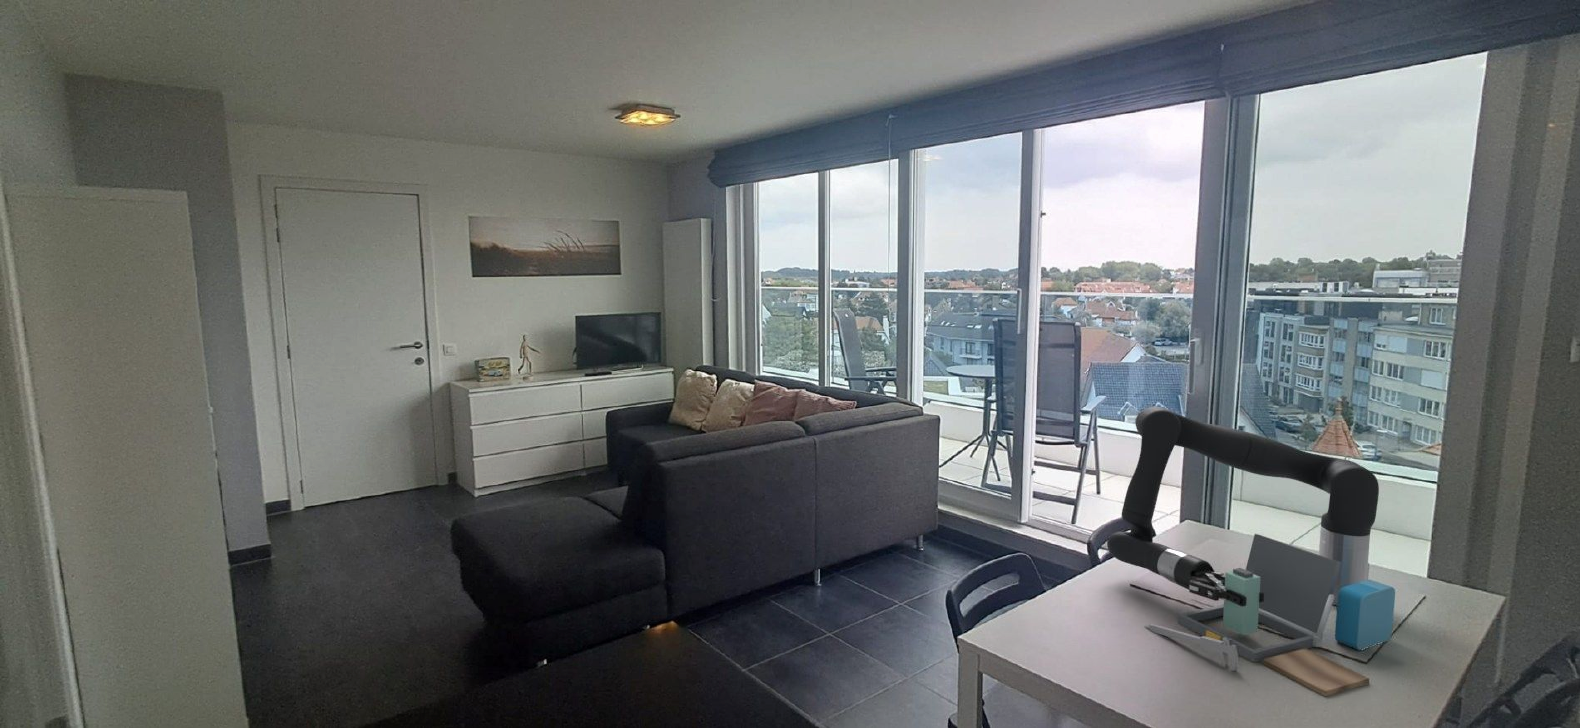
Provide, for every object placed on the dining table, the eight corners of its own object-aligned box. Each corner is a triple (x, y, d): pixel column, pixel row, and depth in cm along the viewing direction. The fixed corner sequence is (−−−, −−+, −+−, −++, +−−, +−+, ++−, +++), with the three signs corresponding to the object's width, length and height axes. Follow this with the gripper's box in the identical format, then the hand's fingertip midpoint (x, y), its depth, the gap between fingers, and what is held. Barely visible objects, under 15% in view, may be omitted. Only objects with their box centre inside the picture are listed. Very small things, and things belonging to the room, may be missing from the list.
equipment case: (1254, 605, 168) (1259, 532, 166) (1340, 643, 150) (1346, 562, 148) (1176, 623, 160) (1179, 547, 158) (1256, 665, 142) (1262, 580, 140)
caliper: (1237, 672, 140) (1239, 641, 140) (1233, 673, 140) (1235, 642, 139) (1147, 627, 159) (1148, 600, 158) (1143, 628, 158) (1144, 601, 158)
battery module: (1238, 622, 157) (1240, 565, 155) (1257, 631, 152) (1260, 573, 151) (1222, 625, 155) (1225, 568, 154) (1242, 635, 151) (1245, 576, 149)
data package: (1367, 631, 155) (1371, 577, 154) (1391, 640, 151) (1396, 585, 150) (1333, 642, 151) (1337, 588, 149) (1357, 652, 147) (1362, 596, 145)
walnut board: (1304, 653, 147) (1305, 648, 146) (1368, 683, 135) (1369, 678, 135) (1262, 664, 143) (1262, 659, 142) (1324, 696, 131) (1325, 691, 131)
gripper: (1161, 559, 163) (1229, 588, 147) (1208, 550, 168) (1279, 577, 152) (1160, 590, 164) (1228, 623, 148) (1206, 580, 169) (1277, 611, 153)
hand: (1253, 599), depth 150 cm, fingers closed on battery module, 4 cm apart
